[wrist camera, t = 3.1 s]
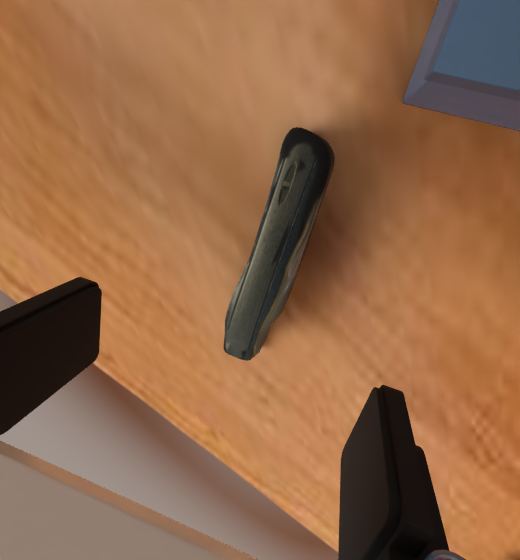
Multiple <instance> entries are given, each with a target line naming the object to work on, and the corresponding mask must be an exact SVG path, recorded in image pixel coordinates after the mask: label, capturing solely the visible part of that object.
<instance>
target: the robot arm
mask: <svg viewBox="0 0 520 560" xmlns="http://www.w3.org/2000/svg"><path fill="white" fill-rule="evenodd" d="M101 296H102V292H101V289H100V288H99V286H98V284H97V283H96V282H93V281H91V280H88V279H85V278H82V277H78V278H75V279H73V280H71V281H69V282H66V283H64V284H62V285H59V286H57V287H55V288H53V289H50V290H48V291H46V292H44V293H41V294H39V295H37V296H35V297H32V298H30V299H28V300H25V301H23V302H21V303H19V304H16V305H14V306H12V307H10V308H7V309H5V310H3V311H1V312H0V435H1V434H3V433H5V432H6V431H8V430H9V429H10V428H12V427H13V426H14V425H15V424H17V423H18V422H19V421H20V420H22V419H23V418H24V417H25V416H27V415H28V414H29V413H30V412H32V411H33V410H34V409H35V408H37V407H38V406H39V405H40V404H41V403H43V402H44V401H45V400H47V399H48V398H49V397H50V396H51V395H53V394H54V393H55V392H57V391H58V390H59V389H60V388H61V387H63V386H64V385H65V384H67V383H68V382H69V381H70V380H72V379H73V378H74V377H75V376H77V375H78V374H79V373H80V372H82V371H83V370H84V369H85V368H87V367H88V366H89V365H90V364H92V363H93V362H94V361H95V360H96V358H97V356H98V354H99V340H100V318H101ZM0 560H258V559H256V558H254V557H252V556H250V555H248V554H245V553H244V552H242V551H240V550H237V549H235V548H233V547H231V546H229V545H227V544H224V543H222V542H220V541H218V540H216V539H214V538H211V537H209V536H207V535H205V534H203V533H201V532H199V531H196V530H194V529H192V528H190V527H188V526H186V525H184V524H181V523H179V522H177V521H175V520H173V519H171V518H168V517H166V516H164V515H162V514H160V513H158V512H155V511H153V510H151V509H149V508H147V507H145V506H142V505H140V504H138V503H136V502H133V501H132V500H129V499H127V498H125V497H122V496H121V495H118V494H116V493H114V492H112V491H109V490H107V489H105V488H103V487H101V486H99V485H96V484H94V483H92V482H90V481H88V480H86V479H83V478H81V477H79V476H77V475H75V474H72V473H70V472H68V471H66V470H64V469H62V468H59V467H57V466H55V465H53V464H51V463H48V462H46V461H44V460H42V459H39V458H37V457H35V456H33V455H31V454H28V453H26V452H24V451H22V450H19V449H17V448H15V447H13V446H11V445H8V444H6V443H4V442H2V441H0ZM338 560H466V559H464V558H463V557H461V556H459V555H458V554H456V553H453V552H450V551H449V547H448V544H447V540H446V536H445V532H444V528H443V524H442V520H441V516H440V512H439V508H438V504H437V501H436V497H435V493H434V489H433V485H432V481H431V477H430V473H429V469H428V465H427V461H426V458H425V454H424V452H423V450H422V448H421V447H419V446H416V445H415V441H414V437H413V433H412V428H411V424H410V420H409V415H408V411H407V407H406V402H405V398H404V394H403V392H402V391H399V390H396V389H393V388H391V387H388V386H385V385H382V386H381V387H380V388H376V387H374V388H373V390H372V391H371V393H370V396H369V398H368V400H367V402H366V404H365V406H364V408H363V410H362V412H361V414H360V416H359V418H358V420H357V422H356V424H355V426H354V428H353V430H352V432H351V434H350V436H349V438H348V440H347V443H346V445H345V447H344V449H343V452H342V457H341V481H340V519H339V559H338Z"/></svg>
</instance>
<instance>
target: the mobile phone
mask: <svg viewBox="0 0 520 560" xmlns="http://www.w3.org/2000/svg"><path fill="white" fill-rule="evenodd" d="M333 166H334V153H333V150H332V148H331V147H330V145H329V144H328V142H327V141H326V140H324V139H322V138H321V137H319V136H317V135H316V134H314V133H312V132H310V131H308V130H306V129H303V128H298V127H296V128H292V129H291V130H290V131H289V132H288V134H287V135H286V137H285V139H284V141H283V144H282V148H281V152H280V157H279V161H278V165H277V169H276V172H275V176H274V179H273V183H272V187H271V190H270V194H269V197H268V200H267V204H266V207H265V210H264V214H263V217H262V220H261V223H260V227H259V230H258V233H257V237H256V240H255V244H254V247H253V250H252V253H251V256H250V259H249V261H248V263H247V266H246V268H245V270H244V272H243V274H242V276H241V279H240V281H239V283H238V285H237V287H236V289H235V291H234V293H233V295H232V298H231V301H230V304H229V307H228V311H227V314H226V319H225V337H224V350H225V352H226V353H228V354H229V355H232V356H234V357H237V358H239V359H242V360H247V361H248V360H251V359H252V358H253V357H254V356H255V355H256V354H258V353H259V352H260V349H261V348H262V346H263V344H264V342H265V339H266V337H267V335H268V332H269V330H270V327H271V325H272V323H273V322H274V321H275V320H276V319H277V318H278V316H279V315H280V314H281V312H282V311H283V309H284V307H285V304H286V302H287V299H288V297H289V294H290V291H291V289H292V286H293V283H294V280H295V278H296V275H297V272H298V269H299V266H300V264H301V261H302V258H303V255H304V252H305V249H306V246H307V244H308V241H309V238H310V235H311V232H312V229H313V226H314V223H315V220H316V217H317V214H318V211H319V208H320V205H321V202H322V199H323V196H324V194H325V191H326V188H327V185H328V182H329V179H330V176H331V173H332V170H333Z"/></svg>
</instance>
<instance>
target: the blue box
mask: <svg viewBox="0 0 520 560" xmlns="http://www.w3.org/2000/svg"><path fill="white" fill-rule="evenodd" d="M402 103H404V104H408V105H412V106H417V107H421V108H425V109H429V110H434V111H438V112H442V113H446V114H450V115H455V116H459V117H463V118H467V119H472V120H476V121H480V122H484V123H488V124H493V125H497V126H501V127H505V128H509V129H514V130H518V131H520V0H439V3H438V6H437V8H436V11H435V14H434V17H433V19H432V22H431V25H430V27H429V30H428V33H427V36H426V38H425V41H424V44H423V46H422V49H421V52H420V54H419V57H418V60H417V63H416V65H415V68H414V71H413V73H412V76H411V79H410V82H409V84H408V87H407V90H406V92H405V95H404V98H403V100H402Z"/></svg>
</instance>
